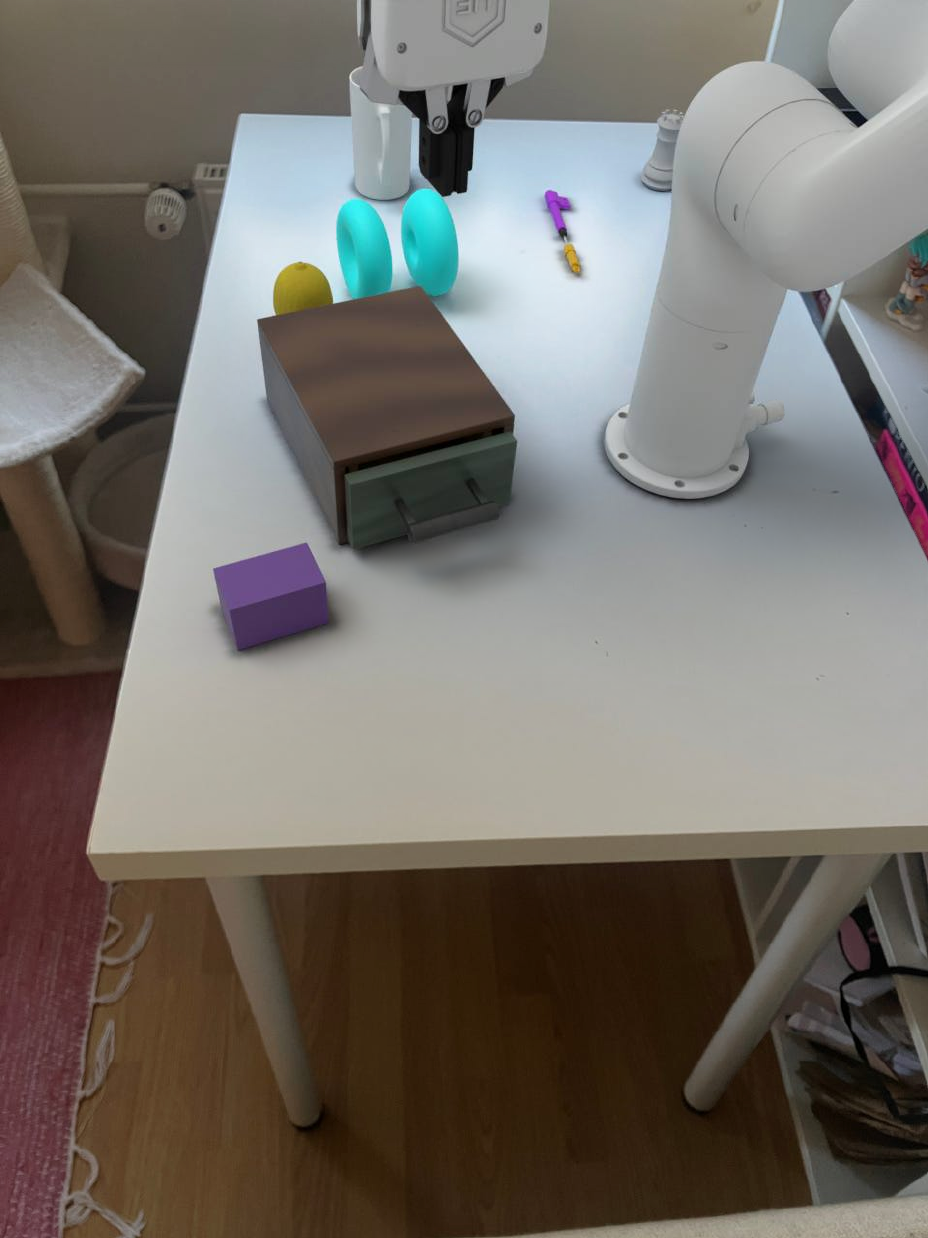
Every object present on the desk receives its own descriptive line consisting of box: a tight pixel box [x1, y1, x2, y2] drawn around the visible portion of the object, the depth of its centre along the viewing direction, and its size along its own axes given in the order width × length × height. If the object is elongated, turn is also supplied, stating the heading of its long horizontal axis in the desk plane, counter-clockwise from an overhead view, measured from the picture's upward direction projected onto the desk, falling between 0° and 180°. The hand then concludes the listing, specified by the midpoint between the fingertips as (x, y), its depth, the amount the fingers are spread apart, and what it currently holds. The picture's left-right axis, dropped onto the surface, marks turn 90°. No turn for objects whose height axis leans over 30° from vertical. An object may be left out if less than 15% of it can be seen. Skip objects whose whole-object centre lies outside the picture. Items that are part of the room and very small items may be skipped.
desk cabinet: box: [256, 285, 516, 545], centre depth 84 cm, size 19×15×9 cm
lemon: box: [272, 261, 334, 315], centre depth 93 cm, size 6×6×8 cm
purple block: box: [212, 542, 330, 651], centre depth 73 cm, size 7×4×5 cm, turn 114°
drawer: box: [345, 430, 518, 550], centre depth 81 cm, size 22×14×7 cm, turn 24°
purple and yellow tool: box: [544, 189, 581, 274], centre depth 110 cm, size 3×1×16 cm
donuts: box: [335, 188, 460, 299], centre depth 98 cm, size 10×10×10 cm
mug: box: [348, 65, 413, 201], centre depth 110 cm, size 10×7×12 cm, turn 7°
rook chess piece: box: [640, 109, 685, 192], centre depth 116 cm, size 4×4×8 cm
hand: (444, 184), depth 64 cm, fingers closed
